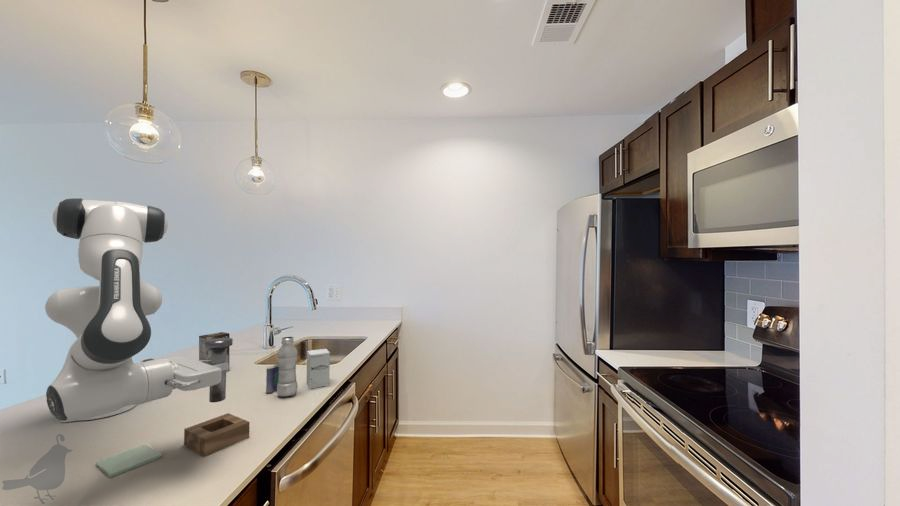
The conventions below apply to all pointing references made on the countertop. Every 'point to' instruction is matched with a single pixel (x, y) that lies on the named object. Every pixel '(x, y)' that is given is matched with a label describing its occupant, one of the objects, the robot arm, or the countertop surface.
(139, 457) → the coaster
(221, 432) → the walnut block
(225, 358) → the dark grey capped cylinder
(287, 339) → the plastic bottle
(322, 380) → the supplement box
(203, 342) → the coffee box
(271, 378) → the flask
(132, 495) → the countertop surface
